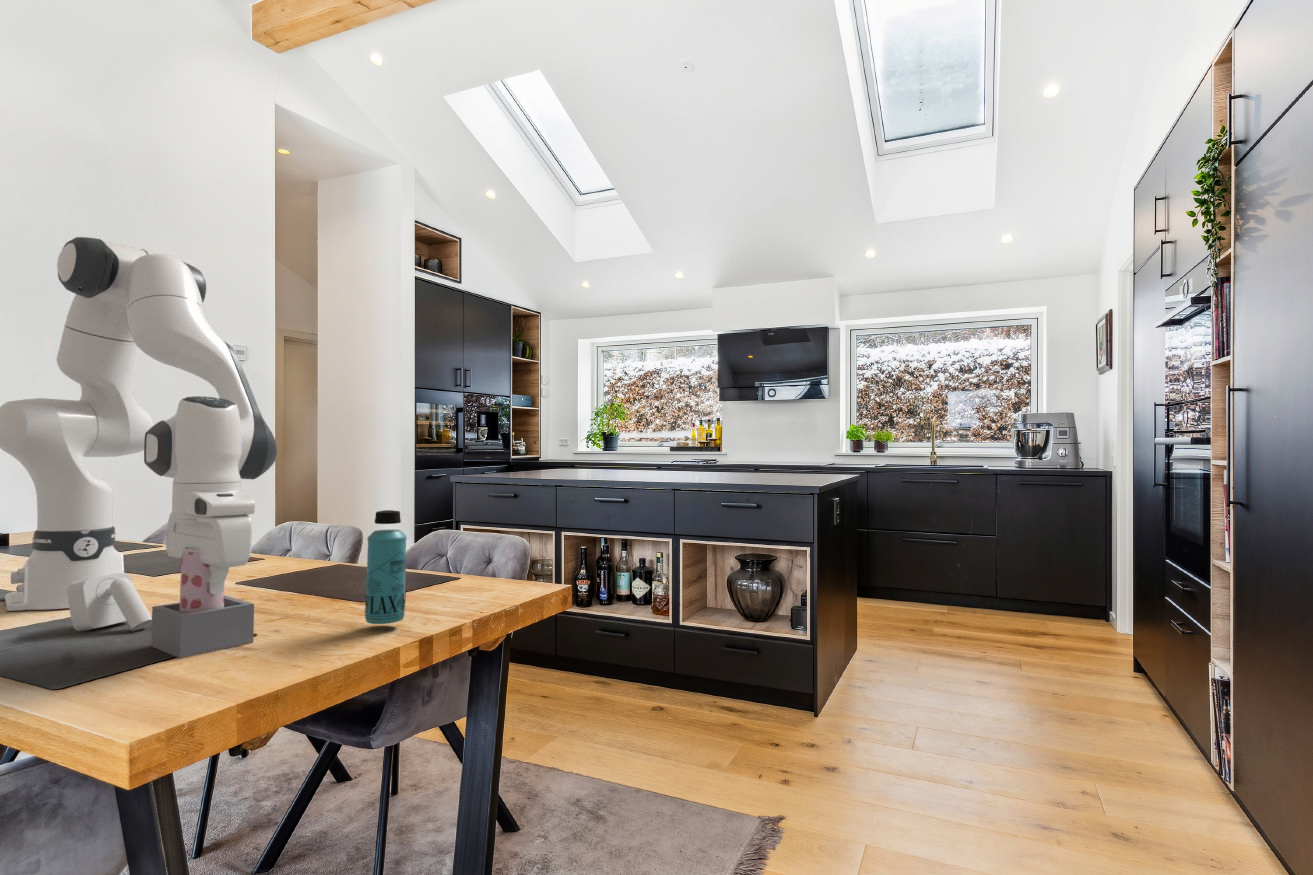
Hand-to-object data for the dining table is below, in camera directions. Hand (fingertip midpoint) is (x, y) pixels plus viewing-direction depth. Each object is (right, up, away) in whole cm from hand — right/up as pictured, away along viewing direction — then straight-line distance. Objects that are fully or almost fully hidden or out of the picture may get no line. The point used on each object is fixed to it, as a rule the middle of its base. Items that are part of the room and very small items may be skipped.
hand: (204, 590), depth 103 cm
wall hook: (-20, -8, +8) cm, 23 cm away
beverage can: (0, -8, 0) cm, 8 cm away
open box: (0, -8, 0) cm, 8 cm away
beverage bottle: (+24, -9, +10) cm, 27 cm away
